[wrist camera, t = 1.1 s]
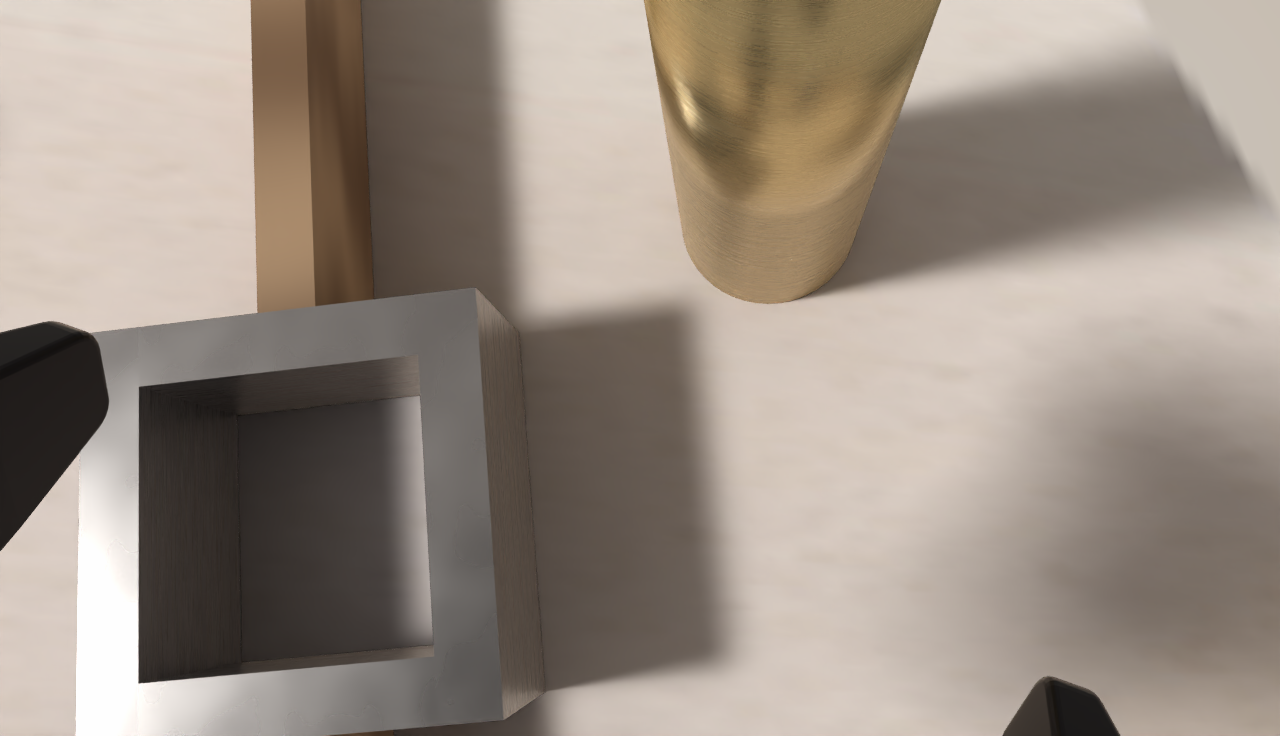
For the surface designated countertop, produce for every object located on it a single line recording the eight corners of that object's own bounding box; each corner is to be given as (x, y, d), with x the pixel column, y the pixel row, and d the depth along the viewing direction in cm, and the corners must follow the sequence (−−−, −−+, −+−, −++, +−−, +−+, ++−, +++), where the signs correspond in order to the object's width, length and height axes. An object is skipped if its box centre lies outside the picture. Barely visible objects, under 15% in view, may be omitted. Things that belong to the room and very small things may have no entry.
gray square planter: (545, 692, 22) (503, 720, 18) (190, 723, 23) (75, 757, 19) (518, 332, 23) (475, 287, 20) (187, 370, 24) (81, 334, 20)
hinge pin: (867, 293, 23) (1061, -105, 9) (690, 312, 23) (625, -44, 10) (843, 128, 24) (989, -466, 10) (673, 149, 24) (588, -397, 10)
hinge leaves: (418, 1285, 20) (352, 1434, 17) (359, 1287, 20) (281, 1437, 17) (357, -71, 26) (299, -167, 22) (311, -64, 26) (247, -159, 23)
